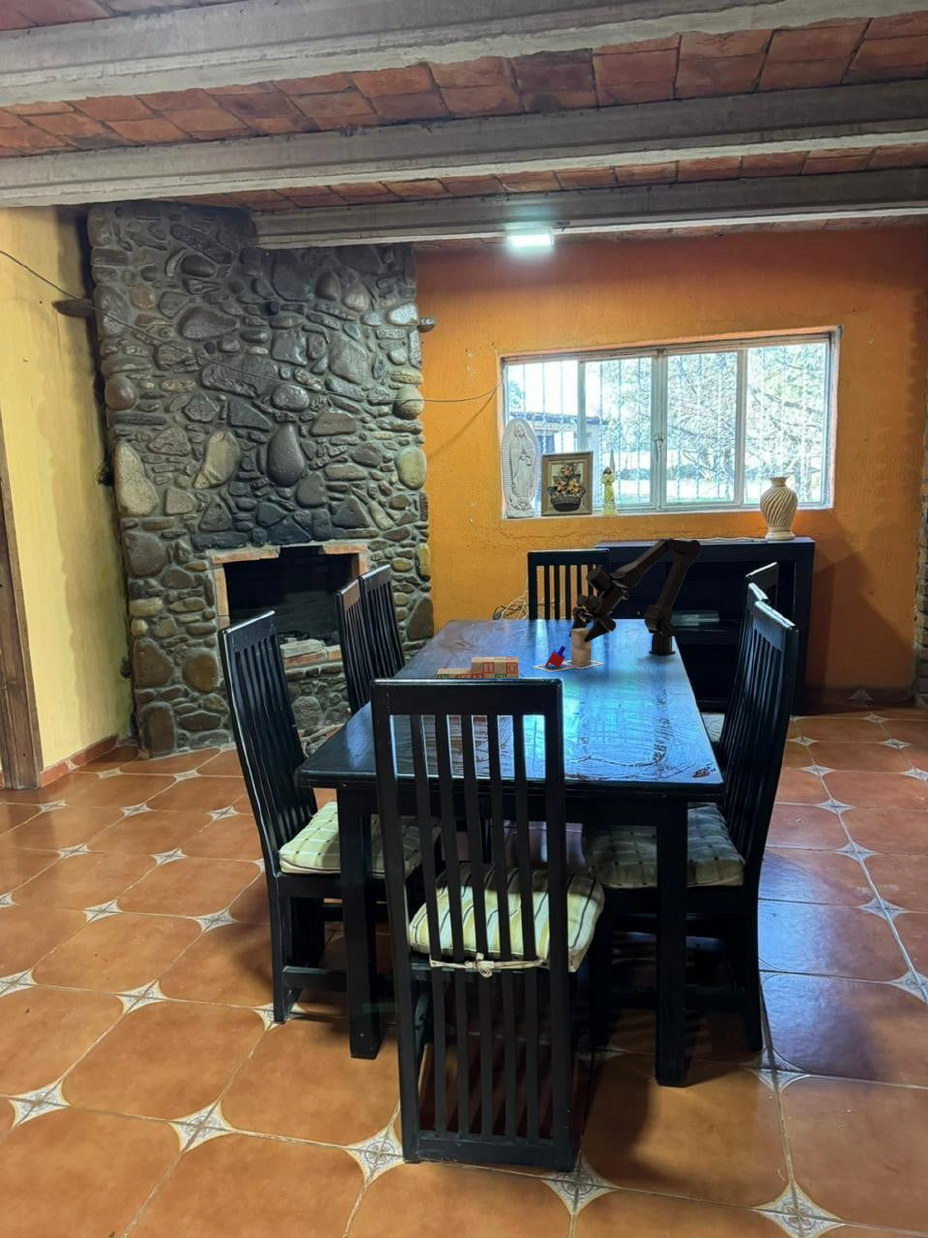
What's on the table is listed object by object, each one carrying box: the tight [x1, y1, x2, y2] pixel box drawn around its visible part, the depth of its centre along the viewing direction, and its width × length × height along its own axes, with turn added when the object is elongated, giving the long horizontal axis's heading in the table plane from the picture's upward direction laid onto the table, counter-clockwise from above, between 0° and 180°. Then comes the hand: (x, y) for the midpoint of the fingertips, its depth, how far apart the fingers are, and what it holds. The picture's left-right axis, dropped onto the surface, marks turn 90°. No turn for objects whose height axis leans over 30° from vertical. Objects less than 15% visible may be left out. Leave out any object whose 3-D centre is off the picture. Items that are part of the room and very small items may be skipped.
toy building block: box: [544, 645, 567, 669], centre depth 252 cm, size 4×4×8 cm
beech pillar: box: [570, 627, 592, 667], centre depth 255 cm, size 4×4×11 cm
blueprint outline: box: [531, 659, 606, 673], centre depth 254 cm, size 20×12×1 cm, turn 123°
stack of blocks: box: [436, 656, 519, 679], centre depth 213 cm, size 21×6×12 cm, turn 86°
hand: (577, 639), depth 254 cm, fingers open, 9 cm apart
